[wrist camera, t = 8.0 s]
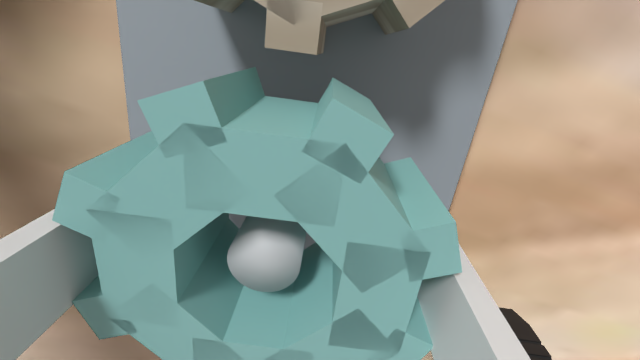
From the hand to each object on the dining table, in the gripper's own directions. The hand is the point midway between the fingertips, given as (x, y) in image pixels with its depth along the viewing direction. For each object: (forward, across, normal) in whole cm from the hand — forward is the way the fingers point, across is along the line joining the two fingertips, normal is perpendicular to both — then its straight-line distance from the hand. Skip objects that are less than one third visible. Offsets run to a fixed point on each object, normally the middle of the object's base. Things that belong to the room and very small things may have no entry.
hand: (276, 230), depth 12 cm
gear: (+2, 0, 0) cm, 2 cm away
